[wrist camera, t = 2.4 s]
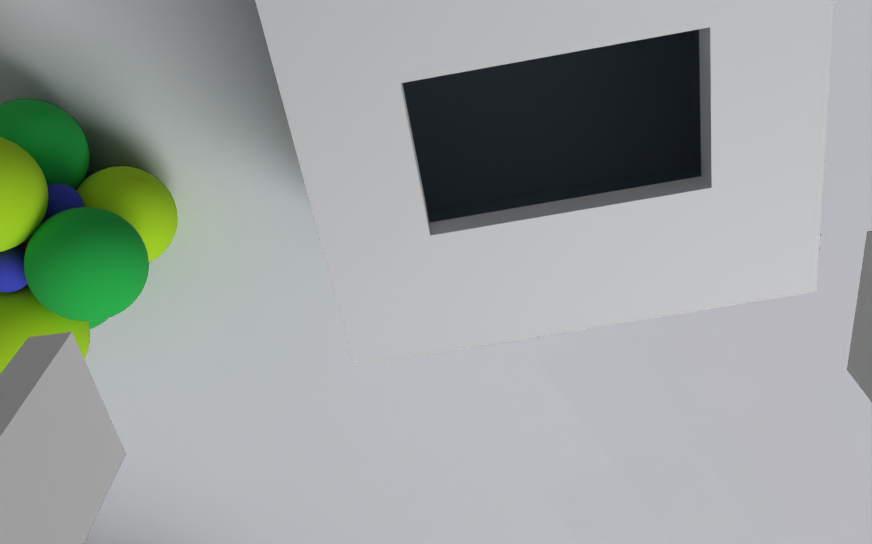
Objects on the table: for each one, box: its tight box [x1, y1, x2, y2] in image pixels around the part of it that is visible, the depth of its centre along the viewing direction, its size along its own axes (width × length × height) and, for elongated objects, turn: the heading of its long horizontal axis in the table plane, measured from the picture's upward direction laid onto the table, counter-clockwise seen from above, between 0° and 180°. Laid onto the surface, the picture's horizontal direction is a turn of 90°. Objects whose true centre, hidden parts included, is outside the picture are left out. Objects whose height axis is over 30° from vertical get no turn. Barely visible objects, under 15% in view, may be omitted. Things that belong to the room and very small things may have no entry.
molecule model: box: [0, 99, 177, 374], centre depth 33 cm, size 9×9×9 cm
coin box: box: [255, 0, 835, 367], centre depth 29 cm, size 16×14×11 cm
